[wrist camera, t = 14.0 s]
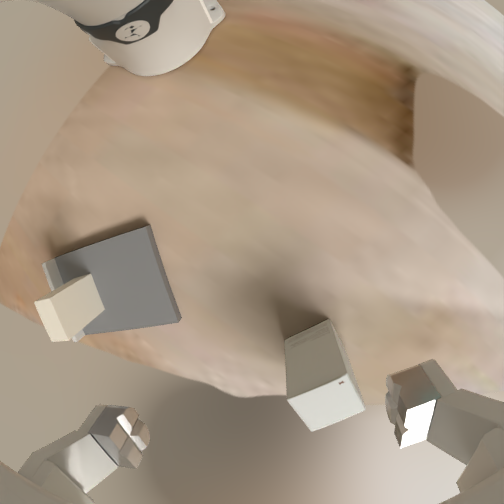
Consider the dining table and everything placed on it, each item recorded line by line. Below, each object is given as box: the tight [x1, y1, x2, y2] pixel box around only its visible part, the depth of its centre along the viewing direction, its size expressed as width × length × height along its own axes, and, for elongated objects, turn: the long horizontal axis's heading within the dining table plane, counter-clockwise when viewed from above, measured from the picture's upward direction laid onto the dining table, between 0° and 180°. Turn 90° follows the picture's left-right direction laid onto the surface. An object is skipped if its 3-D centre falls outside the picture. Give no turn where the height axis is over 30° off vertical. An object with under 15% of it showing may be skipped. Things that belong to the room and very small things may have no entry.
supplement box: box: [284, 319, 365, 431], centre depth 33 cm, size 7×7×13 cm
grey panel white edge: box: [42, 225, 182, 342], centre depth 37 cm, size 14×20×4 cm
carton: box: [34, 274, 105, 342], centre depth 34 cm, size 6×4×10 cm
